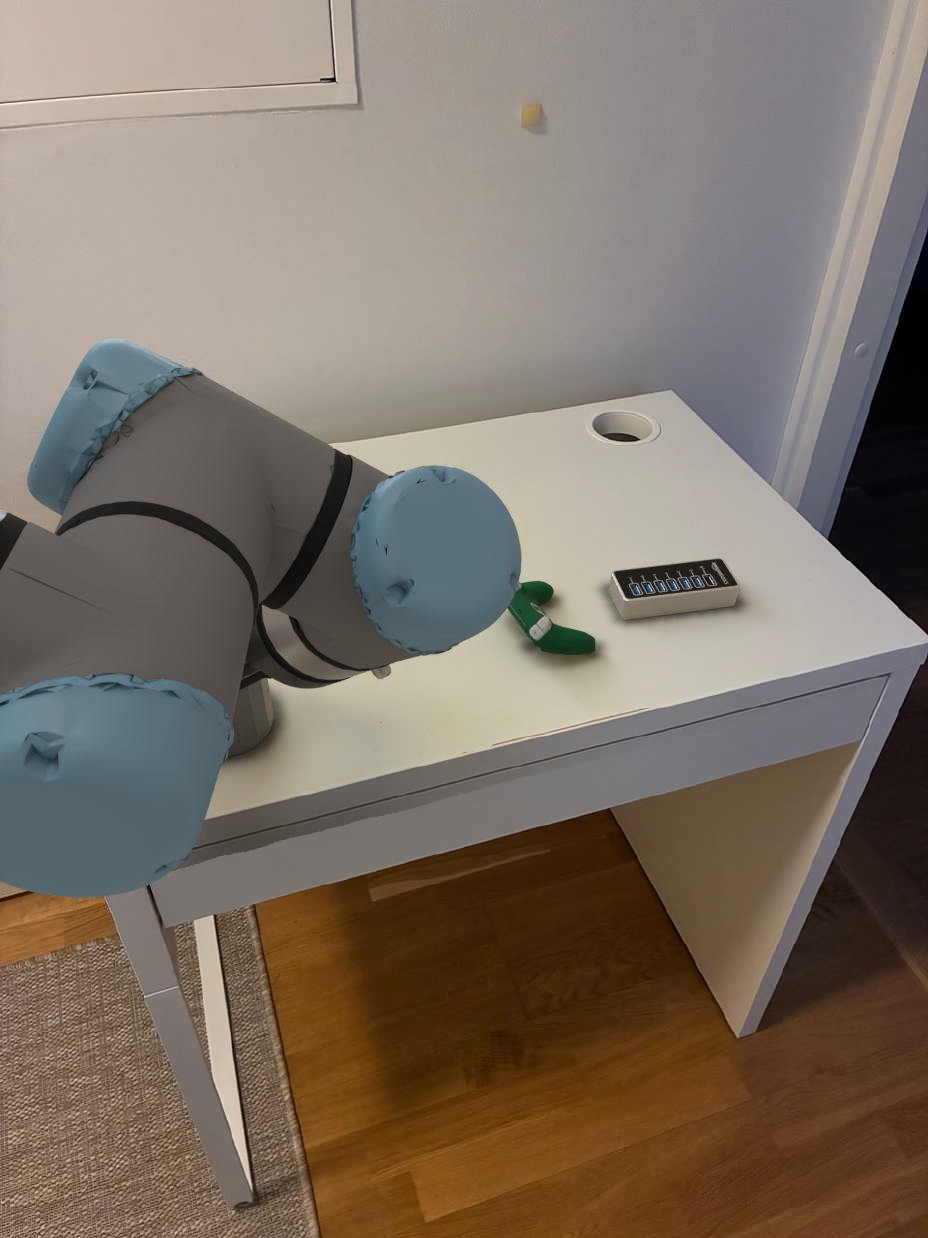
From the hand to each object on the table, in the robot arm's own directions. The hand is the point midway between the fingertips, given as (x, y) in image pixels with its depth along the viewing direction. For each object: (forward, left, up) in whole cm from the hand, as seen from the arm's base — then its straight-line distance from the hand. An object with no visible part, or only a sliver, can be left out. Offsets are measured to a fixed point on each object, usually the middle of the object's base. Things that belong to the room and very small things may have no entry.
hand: (225, 664), depth 70 cm
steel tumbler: (-1, +2, -8) cm, 8 cm away
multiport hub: (+40, +6, -8) cm, 41 cm away
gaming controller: (+27, +5, -8) cm, 29 cm away
